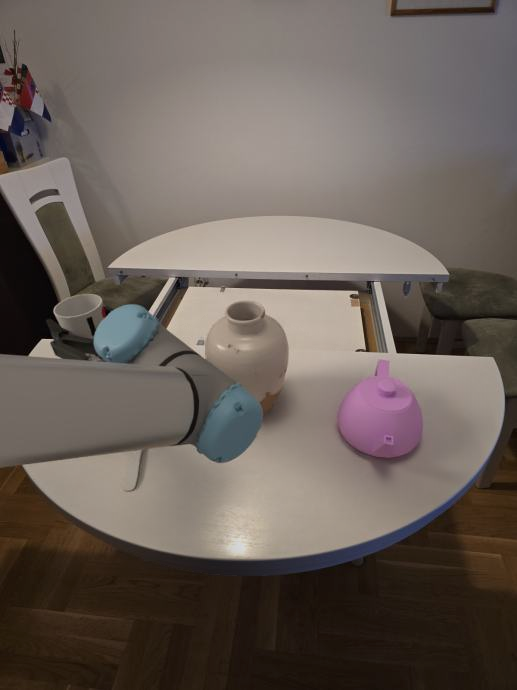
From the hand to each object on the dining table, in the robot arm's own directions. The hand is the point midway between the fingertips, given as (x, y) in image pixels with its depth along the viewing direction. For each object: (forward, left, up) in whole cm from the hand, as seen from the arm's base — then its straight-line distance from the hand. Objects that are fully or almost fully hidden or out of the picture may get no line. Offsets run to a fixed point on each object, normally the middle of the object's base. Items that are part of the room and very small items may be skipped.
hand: (71, 315), depth 76 cm
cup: (+1, -5, -6) cm, 8 cm away
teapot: (+37, -46, -20) cm, 62 cm away
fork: (+1, -18, -20) cm, 27 cm away
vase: (+23, -24, -20) cm, 39 cm away
